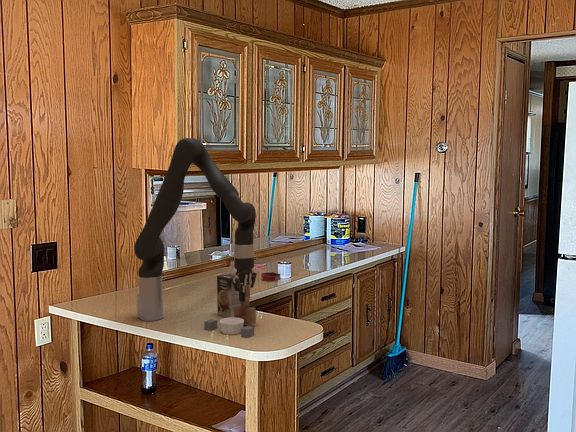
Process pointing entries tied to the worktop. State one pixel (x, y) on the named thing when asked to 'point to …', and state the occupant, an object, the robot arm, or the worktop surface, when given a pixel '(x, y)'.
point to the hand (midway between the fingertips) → (244, 300)
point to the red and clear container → (270, 276)
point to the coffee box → (226, 295)
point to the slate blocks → (245, 331)
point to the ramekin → (231, 325)
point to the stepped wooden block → (245, 310)
